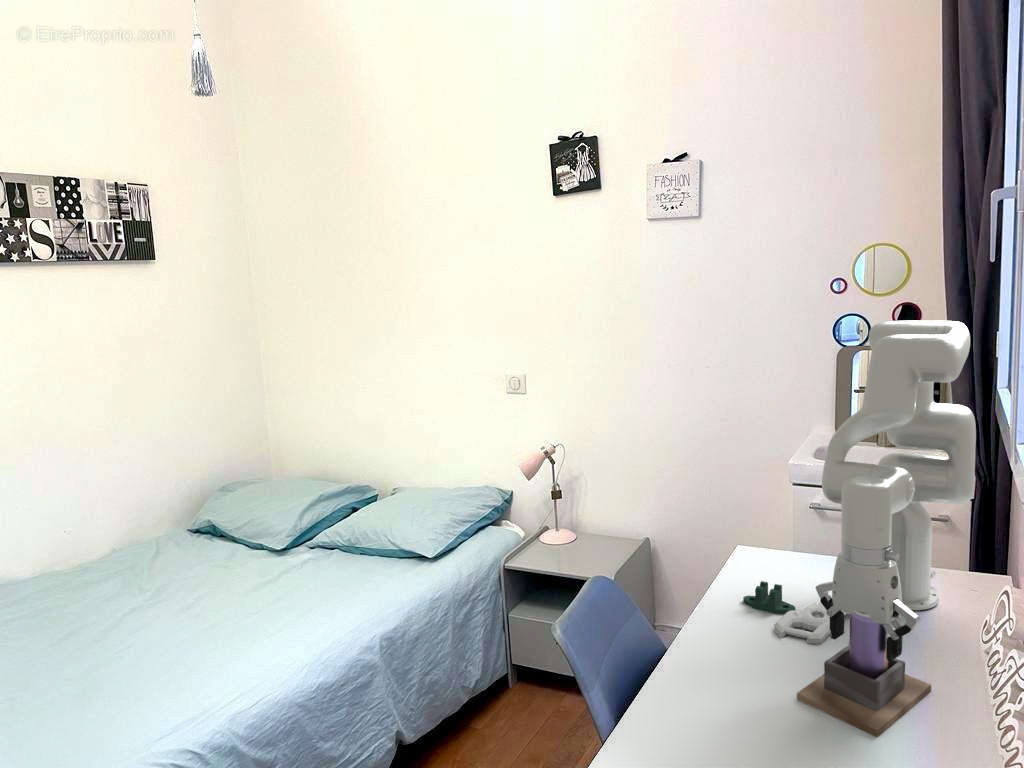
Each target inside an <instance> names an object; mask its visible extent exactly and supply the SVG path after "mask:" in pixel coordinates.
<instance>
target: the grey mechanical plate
mask: <svg viewBox="0 0 1024 768" xmlns="http://www.w3.org/2000/svg"><path fill="white" fill-rule="evenodd" d="M826 612H827V610H826V609H825V607H824V606H823V605H822V603H821V602H819V603H816V602H814V603H812V604H811V605H810V606H809V607H806V608H804V609H799V610H798V609H795V610H792V611H788V612H787V613H786V614H782V616H781V617H780V618H779V619H778V620H777V621H776V622H775V623H774V624H773V630H774V631H775V632H776V633H777V634H778V635H779V637H780V638H781V639H782V638H784V637H785V636H786V635H790V636H794V637H799V638H803V639H806V642H807V644H815V645H818V644H819V645H821V644H822V643H824V641H825V640H826V639H827V638H828V637H829V636H831V631H830V616H828V615H827V613H826ZM841 612H843V611H841ZM847 614H848V613H846V612H844V617H846V615H847ZM799 628H803V629H806V630H807V631H806V630H802V629H799Z"/></svg>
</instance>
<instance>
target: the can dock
mask: <svg viewBox="0 0 1024 768" xmlns="http://www.w3.org/2000/svg"><path fill="white" fill-rule="evenodd" d="M849 656H850V643H849V644H848V645H846V646H845V647H843V648H842V649H841V650H839V651H838V652H836V653H835V654H833V655H832V656H830V657H829V658H828V659H826V660H824V662H823V664H824V665H823V669H824V670H823V672H824V673H823V674H822V675H820V676H819V677H817V678H816V679H814V680H813V681H812V682H810V683H809V684H807V685H806V686H804V687H803V688H802V689H801V690H799V691H797V693H796V700H797V701H800V702H802V703H804V704H807V705H808V706H810V707H813V709H814V708H815V709H817V710H818V711H820V712H822V713H825V714H828V715H830V716H832V717H833V718H836V719H838V720H840V721H843V722H845V723H847V724H849V725H850V726H853V727H855V728H857V729H860V730H861V731H864V732H866V733H868V734H870V735H872V736H874V737H876V738H878V737H879V736H881V735H882V734H883V733H884V732H885V731H886V730H887V729H888V728H890V727H891V726H892V725H894V724H895V723H896V722H897V721H898V720H899V719H901V718H902V717H903V716H904V715H905V714H906V713H907V712H909V711H910V710H911V709H913V708H914V706H916V705H917V704H918V703H919V702H920V701H921V700H923V699H924V697H926V696H927V695H928V694H929V693H931V692H932V683H928V682H926V681H923V680H921V679H918V678H916V677H913V676H912V675H911V676H910V675H908V674H906V662H905V661H903V660H901V659H898V658H897V657H896V658H895V659H894V660H892V661H888V670H887V671H886V672H884V673H883V674H882V675H881V676H879V677H878V678H877V679H875V680H874V679H872V678H869V677H867V676H864V675H862V674H860V673H857V672H855V671H852V670H850V669H849Z"/></svg>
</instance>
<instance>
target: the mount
mask: <svg viewBox="0 0 1024 768" xmlns="http://www.w3.org/2000/svg"><path fill="white" fill-rule="evenodd" d="M759 583H760V584H759V585H756V587H755V590H754V595H746V596H745V595H744V596H743V598H742V600H743V601H742V602H744V603H745V604H746V605H745V604H744V603H743V604H744V605H745V606H747V605H748V606H747V607H749V606H750V608H751V607H752V608H751V609H754V610H756V611H757V610H758V611H761V612H765V613H768V614H769V613H770V614H774V615H785V614H786V613H787V612H788V611H792V610H796V606H795V605H793V604H791V603H789V602H786V601H783V585H782V584H778V583H775V584H774V585H773V588H770V589H769V583H768V582H767V581H763V580H761V581H760V582H759Z"/></svg>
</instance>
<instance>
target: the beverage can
mask: <svg viewBox="0 0 1024 768" xmlns="http://www.w3.org/2000/svg"><path fill="white" fill-rule="evenodd" d="M889 636H890V635H889V634H888V632H887V631H886V629H885V628H884V626H883V625H881V624H877V623H875V622H873V621H872V619H871V618H870V616H869V615H866V614H862V613H859V612H857V611H855V610H854V613H853V614H849V644H850V656H849V669H850V670H852V671H855V672H857V673H860V674H862V675H864V676H867V677H869V678H872V679H874V680H875V679H877V678H878V677H879V676H881V675H882V674H883V673H884V672H886V671H887V670H888V660H887V659H886V652H887V638H888V637H889Z"/></svg>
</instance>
